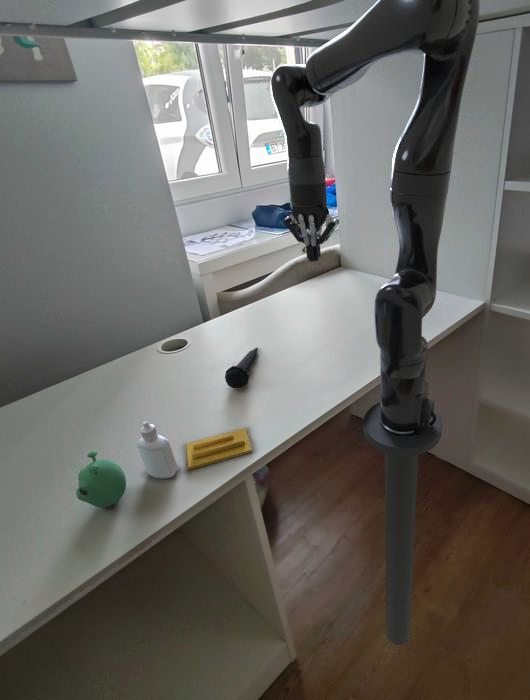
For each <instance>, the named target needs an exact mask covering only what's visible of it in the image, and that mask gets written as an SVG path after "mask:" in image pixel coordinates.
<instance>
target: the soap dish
mask: <svg viewBox="0 0 530 700" xmlns="http://www.w3.org/2000/svg"><path fill="white" fill-rule="evenodd" d="M248 434H249V433H248V432H247V428H246V427H245V428H240V429H237V430H233V431H229V432H226V433H222V434H219V435H215V436H210V437H207V438H203V439H199V440H195V441H192V442H188V443H186V444H185V446H186V447H185V448H186V456H187V458H186V459H187V469H188V470H194V469H197V468H200V467H204V466H208V465H211V464H215V463H219V462H221V461H225V460H229V459H231V458H235V457H239V456H242V455H246V454H251V453H253V450H252V445H251V442H250V439H249V435H248Z"/></svg>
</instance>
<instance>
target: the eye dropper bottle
mask: <svg viewBox="0 0 530 700" xmlns="http://www.w3.org/2000/svg"><path fill="white" fill-rule="evenodd" d="M142 423H143V426H141V428H140V435H141V437H140V438H139V440H138V441H137V443H136V445H137V449H138V451H139V454H140V458H141V460H142V462H143V465H144V468H145V470H146V473H147V474H148V475H149V476H151V477H153V478H154V479H155V478H156V479H171V478H173V477H174V476H175V475H176V473H177V472H178V470H179V468H178V465H177V462H176V458H175V455H174V453H173V450H172V446H171V443H170V442H169V440H168V439H167V438H166V437H164V436H162V435H160V434H158V432H157V428H156V426H155V425H154V424H152V423H149V422H148V421H147V420H144V421H143V422H142Z"/></svg>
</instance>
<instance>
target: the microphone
mask: <svg viewBox="0 0 530 700" xmlns="http://www.w3.org/2000/svg"><path fill="white" fill-rule="evenodd" d="M258 350H259V348H258V347H257V346H256V347H255V348H254V349H252V350H249V351H248V352H247V354H246V355H244V356H243V358H242V359H241V360H240V361H239V362H238V363H237V364H236V365H232V366H231V367H228V369H226V370H225V374H224V379H225V383H226V384H227V386H228V387H230V388H231V389H242V388H243V387H246V386H247V385H248V383H249V380H250V375H249V372H250V370H251V369H252V367H253V365H254V362H255V361H256V359H257V357H258Z"/></svg>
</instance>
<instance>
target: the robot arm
mask: <svg viewBox="0 0 530 700" xmlns="http://www.w3.org/2000/svg"><path fill="white" fill-rule="evenodd" d="M480 11H481V0H377V1H376V2H375V3H374V5H372V6H371V7H370V8H369V9H368V10H367V11H366V12H365V13H364V14H363V15H362V16H361V17H360V18H358V19H357V20H356V21H355V22H354V23H353V24H352V25H350V27H348V28H347V29H346V30H345V31H343V32H342V33H340V34H339V35H337V36H336V37H334V38H332V39H331V40H329V41H328V42H326V43H325V44H323V45H321V46H320V47H318V48H317V49H315V50H314V51H313V52H312V53H310V55H309V56H308V58H307V60H306V63H301V64H300V63H299V64H298V63H297V64H292V63H291V64H290V63H289V64H281V65H280V64H279V65H278V66H277V67H275V69H274V70H273V71H272V75H271V79H270V94H271V98H272V101H273V104H274V107H275V109H276V112H277V115H278V119H279V120H280V124H281V127H282V129H283V130H282V131H283V132H284V137H285V145H286V146H285V147H286V154H287V175H288V176H287V177H288V184H289V194H290V203H291V204H292V207H291V210H290V211H291V212H290V214H289V216H287V217H286V218H283V223H284V225H285V227H286V228H287V229H288V230H289V232H290V233H291V234H292V235H293V237H294V239H295V240H296V241H297V242H298V243H303V245H305V253H306V258H307V260H308V262H310V263H317V262H318V261H319V260H320V259H321V258H322V257H321V256H322V253H321V245H322V244H324V243H325V242H327V241H328V240H329V238H330V237H331V236H332V234H333V233H334V231H335V230H336V229H337V227H338V225H339V224H340V220H339V219H338V218H334V217H333V216H331V215H330V209H329V208H328V205H327V202H328V197H327V195H328V194H327V183H326V178H327V177H326V176H327V175H326V169H325V161H324V156H323V142H322V131H321V127H320V125H319V124H318V123H316V122H314V121H308V120H306V119H305V118H304V115H303V113H302V111H301V109H304V108H314V107H318V106H320V105H323V104H324V103H326V102H327V101H328V100H329V99H330V98H331V97H332V96H333V95H334V94H336V93H338V92H340V91H342V90H344V89H346V88H348V87H350V86H352V85H354V84H355V83H357V82H359V81H360V80H361V79H362V78H364V76H365V75H366V74H367V73H368V71H369V70H370V68H371V67H372V66H373V65H374V64H375V63H377V62H379V61H381V60H383V59H386V58H389V57H393V56H397V55H402V54H407V53H411V54H416V55H421V56H422V55H423V69H422V76H421V84H420V89H419V94H418V98H417V100H416V103H415V106H414V108H413V111H412V112H411V115H410V117H409V119H408V121H407V122H406V125H405V127H404V128H403V130H402V133H401V135H400V137H399V138H398V142H397V143H396V146H395V150H394V153H393V156H392V163H391V175H390V189H389V192H390V193H389V200H390V208H391V213H392V217H393V220H394V224H395V227H396V228H395V229H396V231H397V236H398V250H397V251H398V252H397V259H396V265H395V270H394V274H393V277H392V278H391V279H390V280H388V281H387V282H386V283H385V284H383V285H382V286H381V287H380V288H379V289H378V291H377V292H376V294H375V297H374V305H373V313H374V330H375V340H376V344H377V346H378V348H379V360H380V361H379V362H380V363H379V366H380V367H379V371H380V372H379V375H380V380H379V381H380V383H379V384H380V401H379V402H380V403H379V402H378V403H379V409H380V408H381V417H380V422H381V425H382V427H383V428H384V429H385V430H386V431H387V432H389V433H391V434H394V435H398V436H409V435H420V432H421V430H422V428H423V427H424V424H425V423H426V424H429V421H430V419H431V417H433V420H432V421H431V422H430V425H431V426H432V425H433V424H434V423H435V422H436V415H435V414H434V410H435V399H431V398H429V387H430V386H429V385H430V383H429V382H427V371H428V370H427V369H428V353H429V343H428V340H427V339H426V338H425V337H424V336H423V318H424V317H425V316H426V315H427V314H428V313H429V312H430V311H431V310H432V309H433V306H434V304H435V301H436V297H437V284H438V283H437V281H438V280H437V277H438V275H437V274H438V254H439V253H438V252H439V244H440V240H441V239H440V238H441V235H442V228H443V223H444V217H445V210H446V205H447V199H448V193H449V188H450V180H451V173H452V165H453V155H454V148H455V142H456V141H455V140H456V135H457V129H458V123H459V116H460V110H461V103H462V98H463V93H464V88H465V83H466V80H467V79H466V78H467V75H468V70H469V65H470V62H471V57H472V54H473V49H474V45H475V41H476V36H477V33H478V27H479V22H480V21H479V20H480ZM324 225H325V229H324V230H323V226H324Z"/></svg>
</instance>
